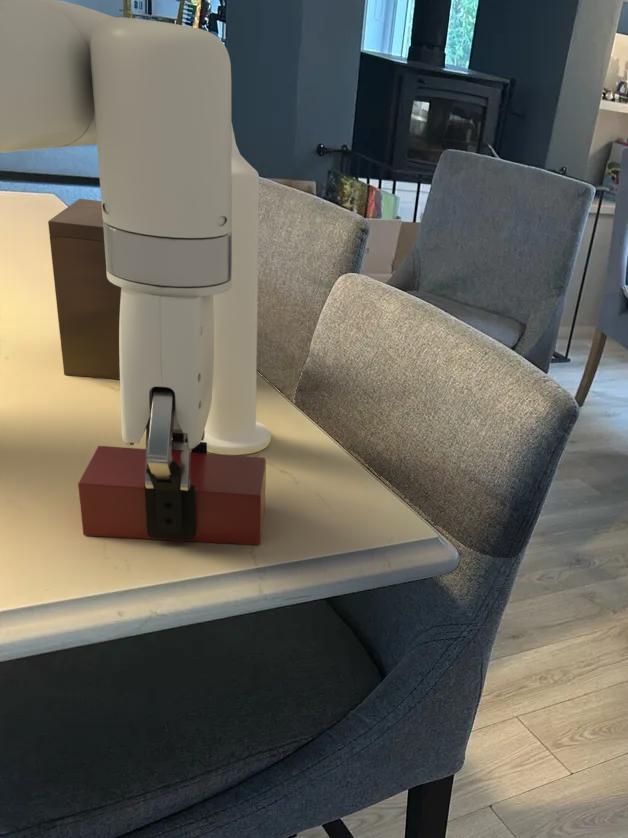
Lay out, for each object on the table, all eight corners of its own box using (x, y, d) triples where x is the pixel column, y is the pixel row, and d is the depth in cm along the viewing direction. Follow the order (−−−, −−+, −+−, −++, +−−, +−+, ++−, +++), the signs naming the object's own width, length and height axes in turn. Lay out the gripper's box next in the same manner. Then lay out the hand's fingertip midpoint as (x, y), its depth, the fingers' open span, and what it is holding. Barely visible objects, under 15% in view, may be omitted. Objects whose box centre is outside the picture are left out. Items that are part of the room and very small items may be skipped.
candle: (222, 417, 82) (220, 112, 68) (286, 438, 79) (296, 127, 66) (170, 439, 76) (156, 112, 63) (237, 463, 74) (237, 128, 60)
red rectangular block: (260, 545, 63) (261, 495, 61) (83, 535, 61) (77, 483, 59) (265, 504, 68) (266, 457, 66) (102, 494, 66) (98, 444, 64)
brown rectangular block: (63, 374, 85) (47, 221, 78) (91, 337, 95) (79, 198, 88) (181, 384, 87) (176, 235, 80) (196, 347, 97) (193, 211, 90)
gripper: (131, 223, 61) (145, 460, 71) (72, 285, 47) (100, 571, 56) (242, 235, 63) (241, 466, 72) (217, 299, 48) (220, 577, 58)
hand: (179, 510), depth 64 cm, fingers closed on red rectangular block, 6 cm apart
